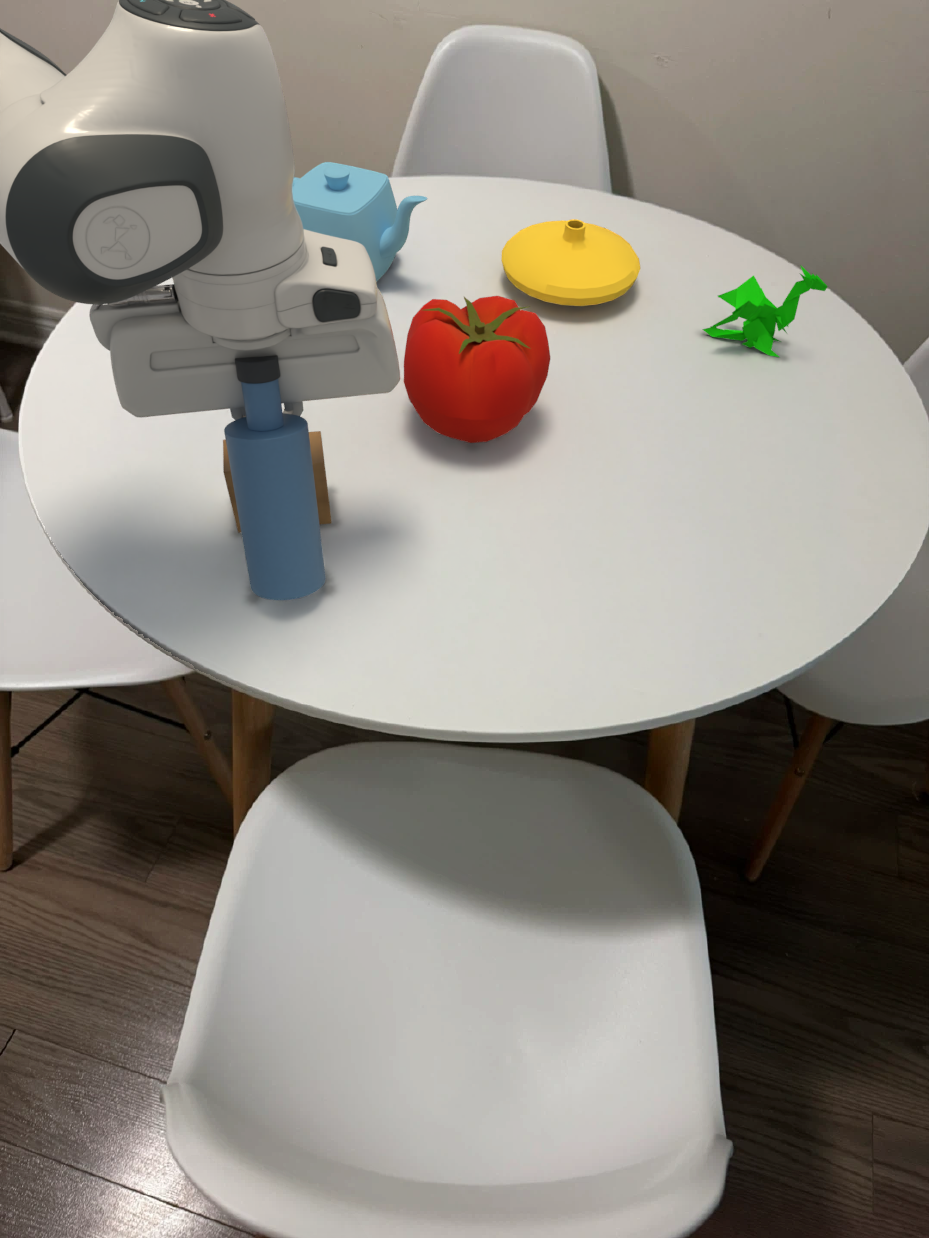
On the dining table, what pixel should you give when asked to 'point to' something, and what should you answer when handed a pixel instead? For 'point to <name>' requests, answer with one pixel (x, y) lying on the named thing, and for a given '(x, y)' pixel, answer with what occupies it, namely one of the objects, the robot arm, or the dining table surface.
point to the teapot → (355, 209)
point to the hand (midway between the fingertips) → (274, 440)
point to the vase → (570, 263)
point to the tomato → (475, 366)
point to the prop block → (318, 479)
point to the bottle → (274, 488)
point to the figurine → (762, 312)
